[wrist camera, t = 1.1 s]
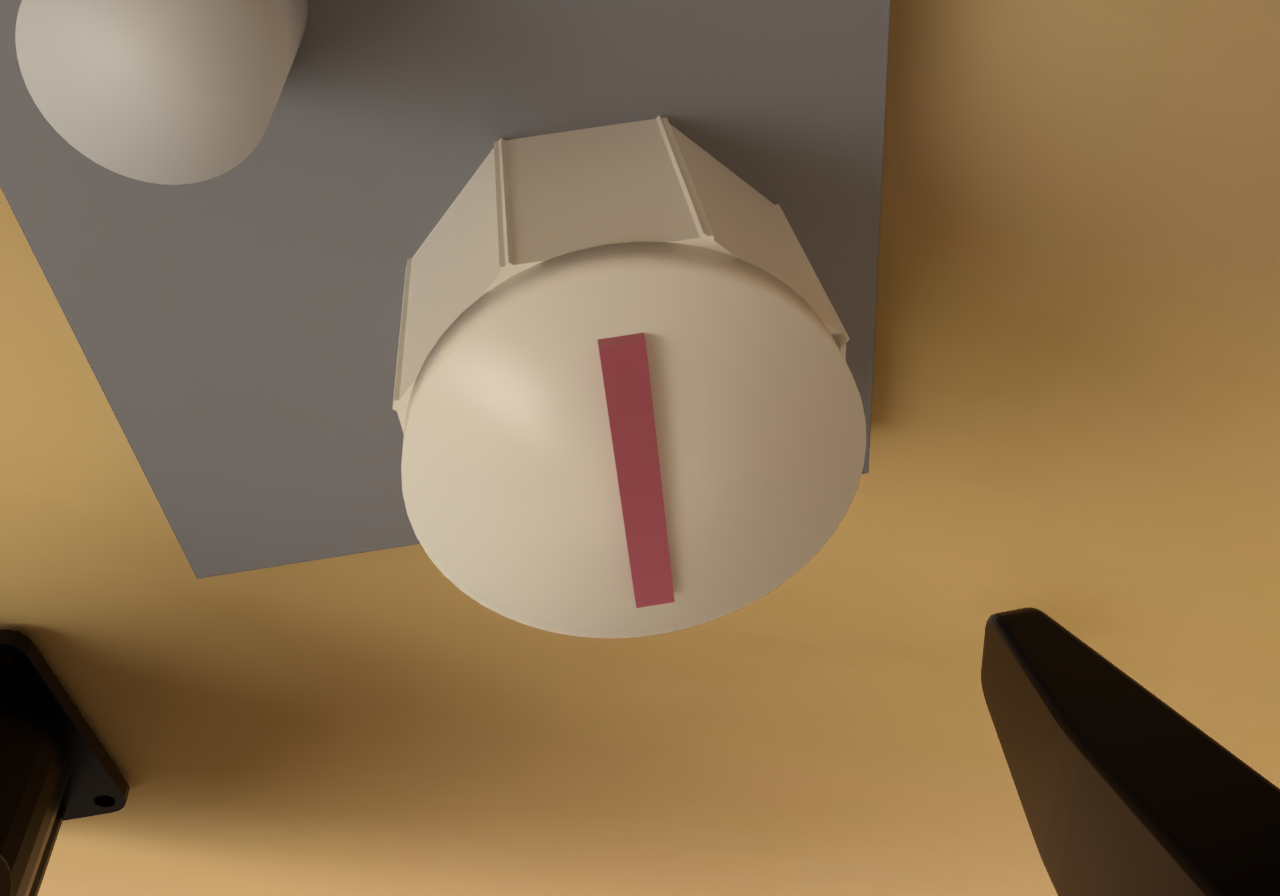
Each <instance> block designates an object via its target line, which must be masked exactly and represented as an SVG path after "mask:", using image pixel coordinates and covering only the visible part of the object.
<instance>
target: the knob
mask: <svg viewBox="0 0 1280 896" xmlns="http://www.w3.org/2000/svg"><path fill="white" fill-rule="evenodd" d="M849 339H850V338H849V337H848V335H847V333H846V330H845V328H844V327H843V325H842V323H841V321H840V319H839V317H838V315H837V313H836V311H835V309H834V308H833V306H832V304H831V302H830V300H829V298H828V296H827V294H826V292H825V291H824V289H823V287H822V285H821V283H820V281H819V279H818V277H817V275H816V273H815V272H814V270H813V268H812V266H811V264H810V262H809V260H808V258H807V256H806V255H805V253H804V251H803V249H802V247H801V245H800V243H799V241H798V239H797V237H796V236H795V234H794V232H793V230H792V228H791V226H790V224H789V222H788V220H787V218H786V217H785V215H784V213H783V211H782V209H781V207H780V205H779V204H775V205H774V204H773V203H772V202H771V201H769V200H768V199H767V198H765V197H764V196H763V195H762V194H760V193H759V192H758V191H756V190H755V189H754V188H752V187H751V186H750V185H749V184H747V183H746V182H745V181H743V180H742V179H741V178H740V177H738V176H737V175H736V174H734V173H733V172H732V171H730V170H729V169H728V168H727V167H725V166H724V165H723V164H721V163H720V162H719V161H718V160H716V159H715V158H714V157H712V156H711V155H710V154H709V153H707V152H706V151H705V150H703V149H702V148H701V147H699V146H698V145H697V144H696V143H694V142H693V141H692V140H690V139H689V138H688V137H687V136H685V135H684V134H683V133H681V132H680V131H679V130H677V129H676V128H675V127H674V126H672V125H671V124H670V123H669V121H668V119H667V117H663V118H662V117H661V116H659V115H658V116H657V118H656V119H650V120H643V121H636V122H629V123H622V124H615V125H608V126H601V127H594V128H587V129H580V130H573V131H566V132H559V133H552V134H545V135H538V136H531V137H524V138H517V139H510V140H504V139H502V138H500V140H499V141H496V142H494V148H493V149H492V150H491V152H490V153H489V154H488V156H487V157H486V159H485V160H484V161H483V163H482V164H481V165H480V167H479V168H478V169H477V171H476V172H475V173H474V175H473V176H472V177H471V179H470V180H469V181H468V183H467V184H466V186H465V187H464V188H463V190H462V191H461V192H460V194H459V195H458V196H457V198H456V199H455V200H454V202H453V203H452V204H451V206H450V207H449V209H448V210H447V211H446V213H445V214H444V215H443V217H442V218H441V219H440V221H439V222H438V223H437V225H436V226H435V227H434V229H433V230H432V231H431V233H430V234H429V236H428V237H427V238H426V240H425V241H424V242H423V244H422V245H421V246H420V248H419V249H418V250H417V252H416V253H415V254H414V256H413V257H412V258H409V259H407V265H406V272H405V282H404V293H403V303H402V313H401V324H400V334H399V344H398V354H397V365H396V375H395V385H394V396H393V406H392V409H393V410H395V411H397V414H398V417H399V420H400V424H401V427H402V430H403V434H404V437H403V449H402V462H401V476H402V493H403V497H404V502H405V506H406V511H407V515H408V518H409V520H410V523H411V525H412V527H413V530H414V532H415V535H416V537H417V539H418V540H419V542H420V544H421V545H422V547H423V549H424V550H425V552H426V554H427V555H428V557H429V558H430V559H431V560H432V562H433V563H434V564H435V565H436V566H437V568H438V569H439V570H440V571H441V572H442V574H443V575H444V576H445V577H446V578H448V579H449V580H450V581H451V582H452V583H453V584H454V585H455V586H456V587H458V588H459V589H460V590H461V591H462V592H464V593H465V594H466V595H468V596H469V597H471V598H472V599H474V600H475V601H477V602H478V603H480V604H481V605H483V606H485V607H487V608H488V609H490V610H492V611H494V612H496V613H498V614H500V615H502V616H504V617H506V618H509V619H512V620H514V621H517V622H519V623H522V624H525V625H527V626H531V627H534V628H538V629H542V630H546V631H549V632H553V633H559V634H566V635H572V636H578V637H592V638H634V637H642V636H651V635H659V634H664V633H669V632H674V631H678V630H683V629H687V628H690V627H694V626H697V625H700V624H704V623H707V622H710V621H713V620H715V619H718V618H720V617H723V616H725V615H728V614H730V613H733V612H735V611H737V610H739V609H741V608H743V607H745V606H747V605H749V604H751V603H753V602H755V601H757V600H758V599H760V598H762V597H763V596H765V595H766V594H768V593H769V592H771V591H772V590H774V589H776V588H777V587H779V586H780V585H782V584H783V583H784V582H785V581H787V580H788V579H789V578H790V577H792V576H793V575H794V574H795V573H797V572H798V571H799V570H800V569H802V568H803V567H804V566H805V565H806V564H807V563H808V562H809V561H810V560H811V559H812V558H813V557H814V556H815V555H816V554H817V553H818V552H819V551H820V549H821V548H822V547H823V546H824V544H825V543H826V542H827V541H828V539H829V538H830V537H831V536H832V534H833V533H834V532H835V530H836V529H837V527H838V525H839V524H840V522H841V521H842V519H843V517H844V516H845V514H846V512H847V511H848V508H849V506H850V504H851V502H852V500H853V497H854V495H855V493H856V491H857V488H858V484H859V481H860V477H861V474H862V470H863V467H864V459H865V451H866V419H865V414H864V410H863V405H862V400H861V396H860V393H859V391H858V388H857V386H856V383H855V381H854V378H853V376H852V373H851V371H850V369H849V367H848V365H847V363H846V342H847V341H848V340H849Z"/></svg>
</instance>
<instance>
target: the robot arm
mask: <svg viewBox="0 0 1280 896" xmlns="http://www.w3.org/2000/svg"><path fill="white" fill-rule="evenodd" d="M5 651H6V652H5ZM8 652H9V653H8ZM981 682H982V689H983V693H984V697H985V700H986V704H987V706H988V709H989V712H990V715H991V718H992V721H993V723H994V726H995V729H996V732H997V735H998V738H999V741H1000V743H1001V746H1002V749H1003V752H1004V755H1005V758H1006V760H1007V763H1008V766H1009V769H1010V772H1011V775H1012V778H1013V780H1014V783H1015V786H1016V789H1017V792H1018V795H1019V797H1020V800H1021V803H1022V806H1023V809H1024V812H1025V814H1026V817H1027V820H1028V823H1029V826H1030V829H1031V832H1032V834H1033V837H1034V840H1035V842H1036V845H1037V848H1038V850H1039V853H1040V856H1041V858H1042V861H1043V863H1044V865H1045V868H1046V870H1047V872H1048V874H1049V877H1050V879H1051V881H1052V883H1053V886H1054V888H1055V890H1056V892H1057V894H1058V896H1280V789H1279V788H1278V787H1276V786H1275V785H1274V784H1272V783H1271V782H1269V781H1268V780H1267V779H1265V778H1264V777H1263V776H1261V775H1260V774H1259V773H1257V772H1256V771H1255V770H1253V769H1252V768H1251V767H1249V766H1248V765H1247V764H1245V763H1244V762H1243V761H1241V760H1240V759H1239V758H1237V757H1236V756H1235V755H1233V754H1232V753H1231V752H1229V751H1228V750H1227V749H1225V748H1224V747H1223V746H1221V745H1220V744H1219V743H1217V742H1216V741H1215V740H1213V739H1212V738H1211V737H1209V736H1208V735H1207V734H1205V733H1204V732H1203V731H1201V730H1200V729H1199V728H1197V727H1196V726H1195V725H1193V724H1192V723H1191V722H1189V721H1188V720H1187V719H1185V718H1184V717H1183V716H1181V715H1180V714H1179V713H1177V712H1176V711H1175V710H1173V709H1172V708H1171V707H1169V706H1168V705H1167V704H1165V703H1164V702H1163V701H1161V700H1160V699H1159V698H1157V697H1156V696H1155V695H1153V694H1152V693H1151V692H1149V691H1148V690H1147V689H1145V688H1144V687H1143V686H1141V685H1140V684H1139V683H1137V682H1136V681H1135V680H1133V679H1132V678H1131V677H1129V676H1128V675H1127V674H1125V673H1124V672H1123V671H1121V670H1120V669H1119V668H1117V667H1116V666H1115V665H1113V664H1112V663H1111V662H1109V661H1108V660H1106V659H1105V658H1104V657H1102V656H1101V655H1100V654H1098V653H1097V652H1096V651H1094V650H1093V649H1092V648H1090V647H1089V646H1088V645H1086V644H1085V643H1084V642H1082V641H1081V640H1080V639H1078V638H1077V637H1076V636H1074V635H1073V634H1072V633H1070V632H1069V631H1068V630H1066V629H1065V628H1064V627H1062V626H1061V625H1060V624H1058V623H1057V622H1056V621H1054V620H1053V619H1052V618H1050V617H1049V616H1048V615H1046V614H1045V613H1044V612H1042V611H1040V610H1038V609H1035V608H1022V609H1016V610H1011V611H1006V612H1001V613H996V614H993V615H991V616H990V617H989V619H988V620H987V623H986V627H985V638H984V648H983V658H982V669H981ZM129 790H130V788H129V785H128V783H127V782H126V780H125V779H124V777H123V776H122V774H121V773H120V771H119V770H118V768H117V767H116V765H115V764H114V762H113V761H112V759H111V758H110V756H109V755H108V754H107V752H106V751H105V749H104V748H103V746H102V745H101V743H100V742H99V740H98V739H97V737H96V736H95V734H94V733H93V731H92V730H91V728H90V727H89V725H88V724H87V722H86V721H85V719H84V718H83V716H82V715H81V713H80V712H79V710H78V709H77V707H76V706H75V704H74V703H73V702H72V700H71V699H70V697H69V696H68V694H67V693H66V691H65V690H64V688H63V687H62V685H61V684H60V682H59V681H58V679H57V678H56V676H55V675H54V673H53V672H52V670H51V669H50V667H49V666H48V664H47V663H46V661H45V660H44V658H43V657H42V655H41V654H40V652H39V651H38V649H37V648H36V647H35V645H34V644H33V642H32V641H31V640H30V639H29V638H28V637H27V636H25V635H23V634H21V633H19V632H16V631H11V630H0V896H37V895H38V892H39V889H40V886H41V883H42V880H43V877H44V874H45V871H46V868H47V865H48V862H49V859H50V856H51V853H52V850H53V847H54V844H55V841H56V838H57V835H58V832H59V829H60V827H61V824H62V821H63V820H69V819H75V818H81V817H87V816H93V815H99V814H105V813H111V812H115V811H118V810H120V809H122V808H123V807H124V806H125V803H126V800H127V797H128V793H129Z"/></svg>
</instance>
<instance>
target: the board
mask: <svg viewBox="0 0 1280 896" xmlns="http://www.w3.org/2000/svg"><path fill="white" fill-rule="evenodd" d="M889 15H890V0H0V187H1V189H2V191H3V193H4V195H5V197H6V199H7V201H8V203H9V205H10V207H11V209H12V211H13V213H14V215H15V217H16V219H17V221H18V223H19V225H20V227H21V229H22V231H23V233H24V235H25V237H26V239H27V241H28V243H29V245H30V247H31V249H32V251H33V253H34V255H35V257H36V259H37V261H38V263H39V265H40V267H41V269H42V271H43V273H44V275H45V277H46V279H47V281H48V283H49V285H50V287H51V289H52V291H53V293H54V295H55V297H56V299H57V301H58V303H59V305H60V306H61V308H62V310H63V312H64V314H65V316H66V318H67V320H68V322H69V324H70V326H71V328H72V330H73V332H74V334H75V336H76V338H77V340H78V342H79V344H80V346H81V348H82V350H83V352H84V354H85V356H86V358H87V360H88V362H89V364H90V366H91V368H92V370H93V372H94V374H95V376H96V378H97V380H98V382H99V384H100V386H101V388H102V390H103V392H104V394H105V396H106V398H107V400H108V402H109V404H110V406H111V408H112V410H113V412H114V414H115V416H116V418H117V420H118V422H119V424H120V426H121V428H122V430H123V432H124V434H125V436H126V438H127V440H128V442H129V444H130V446H131V448H132V450H133V452H134V454H135V456H136V458H137V460H138V462H139V464H140V466H141V468H142V470H143V472H144V474H145V476H146V478H147V480H148V482H149V484H150V486H151V488H152V490H153V492H154V494H155V496H156V498H157V500H158V502H159V504H160V506H161V508H162V510H163V512H164V514H165V516H166V518H167V520H168V522H169V524H170V526H171V527H172V529H173V531H174V533H175V535H176V537H177V539H178V541H179V543H180V545H181V547H182V549H183V551H184V553H185V555H186V557H187V559H188V561H189V563H190V565H191V567H192V569H193V571H194V573H195V575H196V577H197V579H198V578H205V577H211V576H217V575H224V574H230V573H236V572H243V571H249V570H255V569H262V568H268V567H274V566H281V565H287V564H293V563H300V562H306V561H312V560H319V559H325V558H331V557H338V556H344V555H350V554H357V553H363V552H369V551H376V550H382V549H388V548H395V547H401V546H407V545H414V544H420V542H419V540H418V539H417V537H416V535H415V532H414V530H413V527H412V525H411V523H410V520H409V518H408V515H407V511H406V506H405V502H404V497H403V493H402V476H401V462H402V449H403V437H404V434H403V430H402V427H401V424H400V420H399V417H398V414H397V411H395V410H393V409H392V406H393V396H394V385H395V375H396V365H397V354H398V344H399V334H400V324H401V313H402V303H403V293H404V282H405V272H406V265H407V259H409V258H412V257H413V256H414V254H415V253H416V252H417V250H418V249H419V248H420V246H421V245H422V244H423V242H424V241H425V240H426V238H427V237H428V236H429V234H430V233H431V231H432V230H433V229H434V227H435V226H436V225H437V223H438V222H439V221H440V219H441V218H442V217H443V215H444V214H445V213H446V211H447V210H448V209H449V207H450V206H451V204H452V203H453V202H454V200H455V199H456V198H457V196H458V195H459V194H460V192H461V191H462V190H463V188H464V187H465V186H466V184H467V183H468V181H469V180H470V179H471V177H472V176H473V175H474V173H475V172H476V171H477V169H478V168H479V167H480V165H481V164H482V163H483V161H484V160H485V159H486V157H487V156H488V154H489V153H490V152H491V150H492V149H493V148H494V142H496V141H499V140H500V138H502V139H504V140H510V139H517V138H524V137H531V136H538V135H545V134H552V133H559V132H566V131H573V130H580V129H587V128H594V127H601V126H608V125H615V124H622V123H629V122H636V121H643V120H650V119H656V118H657V116H658V115H659V116H661V117H662V118H663V117H667V119H668V121H669V123H670V124H671V125H672V126H674V127H675V128H676V129H677V130H679V131H680V132H681V133H683V134H684V135H685V136H687V137H688V138H689V139H690V140H692V141H693V142H694V143H696V144H697V145H698V146H699V147H701V148H702V149H703V150H705V151H706V152H707V153H709V154H710V155H711V156H712V157H714V158H715V159H716V160H718V161H719V162H720V163H721V164H723V165H724V166H725V167H727V168H728V169H729V170H730V171H732V172H733V173H734V174H736V175H737V176H738V177H740V178H741V179H742V180H743V181H745V182H746V183H747V184H749V185H750V186H751V187H752V188H754V189H755V190H756V191H758V192H759V193H760V194H762V195H763V196H764V197H765V198H767V199H768V200H769V201H771V202H772V203H773V204H774V205H775V204H779V205H780V207H781V209H782V211H783V213H784V215H785V217H786V218H787V220H788V222H789V224H790V226H791V228H792V230H793V232H794V234H795V236H796V237H797V239H798V241H799V243H800V245H801V247H802V249H803V251H804V253H805V255H806V256H807V258H808V260H809V262H810V264H811V266H812V268H813V270H814V272H815V273H816V275H817V277H818V279H819V281H820V283H821V285H822V287H823V289H824V291H825V292H826V294H827V296H828V298H829V300H830V302H831V304H832V306H833V308H834V309H835V311H836V313H837V315H838V317H839V319H840V321H841V323H842V325H843V327H844V328H845V330H846V333H847V335H848V337H849V338H850V339H849V340H848V341H847V342H846V363H847V365H848V367H849V369H850V371H851V373H852V376H853V378H854V381H855V383H856V386H857V388H858V391H859V393H860V396H861V400H862V405H863V410H864V414H865V419H866V451H865V459H864V467H863V470H862V474H864V473H868V471H869V449H870V427H871V406H872V384H873V362H874V341H875V319H876V297H877V275H878V254H879V232H880V210H881V189H882V167H883V145H884V124H885V102H886V80H887V59H888V37H889Z"/></svg>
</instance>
